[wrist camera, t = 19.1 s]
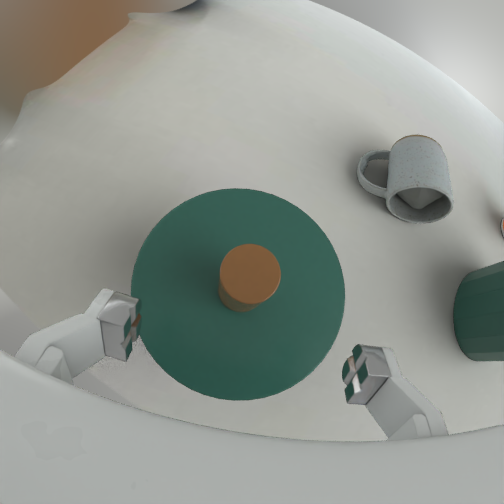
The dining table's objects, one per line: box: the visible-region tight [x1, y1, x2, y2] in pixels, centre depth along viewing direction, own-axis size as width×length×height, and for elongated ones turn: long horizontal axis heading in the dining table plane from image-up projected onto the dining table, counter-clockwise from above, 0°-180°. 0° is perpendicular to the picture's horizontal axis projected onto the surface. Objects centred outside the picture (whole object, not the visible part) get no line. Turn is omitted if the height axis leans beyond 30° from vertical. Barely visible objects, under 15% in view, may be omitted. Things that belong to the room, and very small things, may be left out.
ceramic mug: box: [357, 135, 454, 223], centre depth 30 cm, size 11×8×8 cm
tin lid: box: [131, 188, 345, 400], centre depth 16 cm, size 13×13×6 cm
